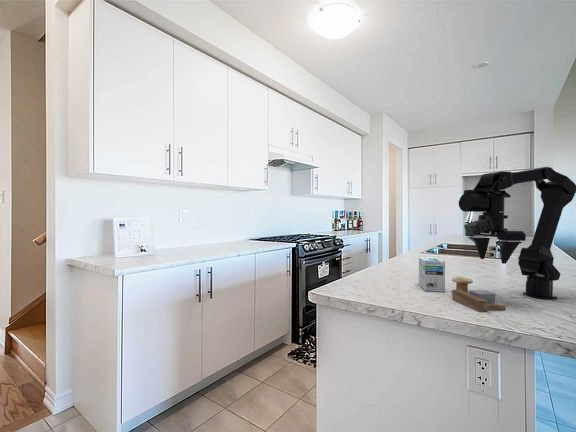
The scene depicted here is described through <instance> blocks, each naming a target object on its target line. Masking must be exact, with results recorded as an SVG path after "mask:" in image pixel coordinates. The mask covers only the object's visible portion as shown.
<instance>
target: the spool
mask: <svg viewBox="0 0 576 432" xmlns="http://www.w3.org/2000/svg"><path fill="white" fill-rule="evenodd" d="M451 281H452V282H453V283H456V285H455V288H456V289H455V290H461V291H464V292H466V293H469V294H470V290H469V284H473V279H471V278H467V277H457V276H456V277H455V276H454V277H452V278H451Z"/></svg>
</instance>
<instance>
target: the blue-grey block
mask: <svg viewBox="0 0 576 432" xmlns="http://www.w3.org/2000/svg"><path fill="white" fill-rule="evenodd" d="M469 291H470V294H471V295H474V296H476V297H479V298H481V299H484V300H486V301H487V304H496V293H494V292H492V291H489V290H485V289H480V290H479V289H477V290H476V289H475V290H472V289H471V290H469Z"/></svg>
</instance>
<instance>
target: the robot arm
mask: <svg viewBox="0 0 576 432" xmlns="http://www.w3.org/2000/svg"><path fill="white" fill-rule="evenodd" d="M545 180H547V181H545ZM533 181H534V183H535V187H536V189H538V191H539V192H540V199H541V201H542V203H543V204H542V205H543V207H542V210H541V213H540V216H539V219H538V222H537V225H536V228H535V231H534V234H533V237H532V241H531V244H530V245H529V246H527V247H521V249H520V253H519V256H518V258H517V259H518V266H519V269H520V273H521V275H522V276H526V281H525V291H523V292H522V294H523V295H527V296H530V297H533V298H536V299H541V300H543V299H547V300H548V299H558V296H556V295H554V292H553V291H554V290H553V289H554V281H556V282H557V281H559V280H560V277H561V273H560V272H559V270H558V268H556V267H555V265H554V259H555V258H554V256H553V253H552V250H551V248H552V245H553V242H554V238H555V235H556V232H557V228H558V225H559V223H560V222H559V221H560V219H561V216H562V213H563V209H564V208H565V207H566V206H567V205H568V204H569V203H571V202H572V200H573V199H574V198H575V195H576V183H575V181H573V180H572V179H571V178H569V176H567V175H565V174H562V173H559V172H557V171H556V170H554V169H553V168H552V167H549V166H544V167H543V166H542V167H535V168H533V169H529V170H528V169H526V170H521V171H516V172H512V171H505V170H503V171H502V170H500V171H494V172H488V173H487V172H486V173H483V174H481V175H480V177H479V180H478V182H477V184H476V185H475V186H474V188H473V189H464V190H463V194H461V196H460V197H459V200H458V207H459V208H460V210H461V211H462V212H465V213H470V212H471V213H475V212H476V213H478V212H481V213H482V214H479V216H478V219H477V220H474V221H471V222H469V223H466V224H464V225H463V226H464V230H465V236H466V237H467V238H468V239H469V240H471V241H472V242H473V243H474V245H475V248H476V251H477V253H478V256H479V259H481V260H484V259H485V258H486V256H487V252H488V247H489V244H490V239H491V237H492V238H497V240H496V243H497V244H498V245H499V246H500V260H501V263H502V265H503V264H504V265H506V264H507V262H508V261H509V260H510V258H511V256H512V254H513V253H514V252H515V250H516V249H517V248H518V246H519V245H520V244H522V242H526V233H525V232H524V231H523V230H515V229H514V230H513V229H512V230H509V229H508V228H507V227H506V228H505V219H508V216H509V215H508V214H505V198H511V195H510V193H508V192H507V191H506V189H509V188H511V187H513V186H515V185H516V184H522V183H527V182H528V183H529V182H533Z"/></svg>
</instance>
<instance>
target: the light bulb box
mask: <svg viewBox="0 0 576 432" xmlns="http://www.w3.org/2000/svg"><path fill="white" fill-rule="evenodd" d="M418 285H419V286H420V287H421V288H422V289H423V290H424V291H425V292H438V293H439V292H440V293H445V292H446V261H444V260H442V259H440V258H438V257H435V256H418Z"/></svg>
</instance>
